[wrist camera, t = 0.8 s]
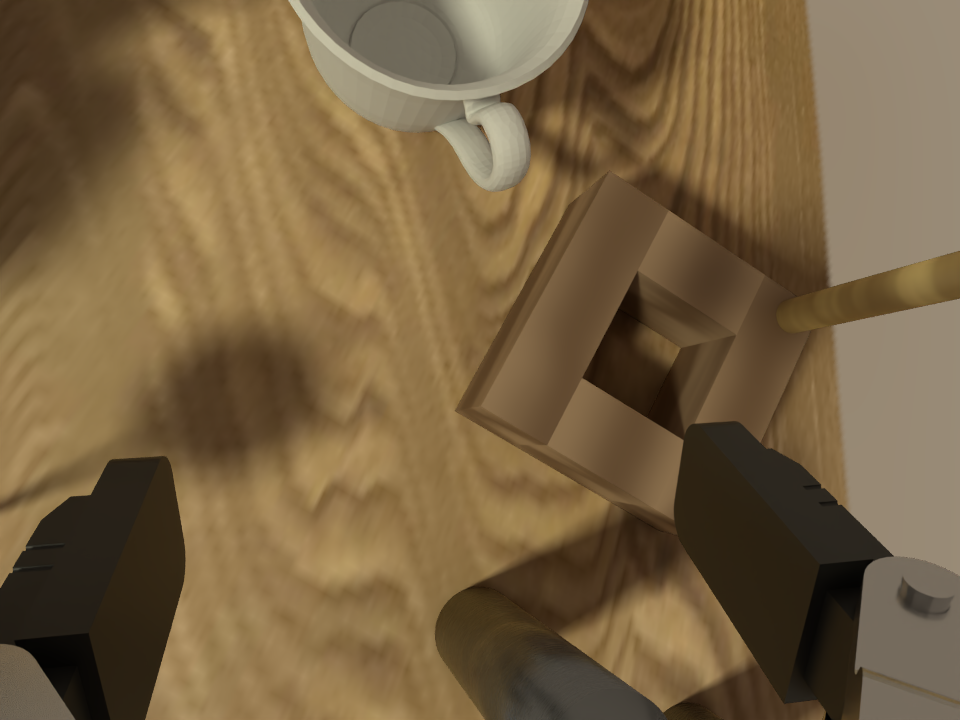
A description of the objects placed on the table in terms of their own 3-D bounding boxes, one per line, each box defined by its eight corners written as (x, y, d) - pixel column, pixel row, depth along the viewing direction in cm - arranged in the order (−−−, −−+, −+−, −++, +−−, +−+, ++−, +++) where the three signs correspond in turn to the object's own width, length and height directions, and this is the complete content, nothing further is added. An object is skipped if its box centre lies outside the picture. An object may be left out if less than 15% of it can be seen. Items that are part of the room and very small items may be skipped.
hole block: (454, 410, 36) (568, 390, 21) (569, 204, 38) (739, 61, 24) (660, 531, 38) (892, 587, 23) (756, 327, 40) (1019, 263, 26)
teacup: (347, 277, 35) (369, 215, 26) (233, -21, 35) (212, -194, 26) (572, 202, 38) (668, 122, 29) (467, -71, 38) (527, -242, 29)
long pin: (418, 624, 34) (512, 759, 20) (487, 569, 35) (624, 658, 21) (467, 695, 35) (597, 878, 20) (535, 637, 36) (704, 772, 21)
